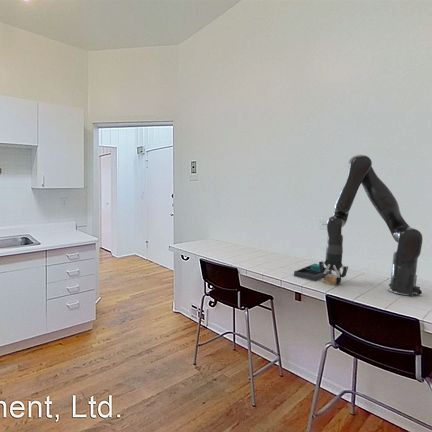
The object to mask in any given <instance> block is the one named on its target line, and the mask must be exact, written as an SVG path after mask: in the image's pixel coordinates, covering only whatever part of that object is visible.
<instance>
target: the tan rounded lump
mask: <svg viewBox="0 0 432 432" xmlns="http://www.w3.org/2000/svg"><path fill="white" fill-rule="evenodd" d="M337 277H338V276H337V274H332V273H331V274H327V275H325V280H324V279H323V280H324V281H323V282H324V284H328V285H332V286H337V285H338V284H337Z"/></svg>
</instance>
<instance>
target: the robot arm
mask: <svg viewBox="0 0 432 432" xmlns="http://www.w3.org/2000/svg"><path fill="white" fill-rule="evenodd" d="M372 165H373V162H372V159H371V158H370V156H367V155H365V154H356V155H354V156H353V155H352V157H350V159H349V160H348V163H347V166H348V169H349V170H348V175H347V178H346V181H345V183H344V186H343V187H342V189H341V191H340V192H339V194H338V197H337V199H336V202H335V204H334V212H333V215H332V216H329V218H328V219H327V220H326V221H327V222H326V231H327V241H326V242H327V243H326V248H325V260H324V261H323V260H321V261H319V262H318V264H319V266H320V272H322V273H323V274H324V277H322V278H323V280H325V275H327V273H328V272H329V270H332V272H335V275H337V276H338V277H337V285H340V284H341V283H342V278H345V277H346V276H347V273H348V270H349V266H348V265H343V253H344V248H343V246H344V245H343V243H344V235H343V233H342V231H343V229H342V228H343V227H344V226H345V225H346V223H347V221H348V218H349V213H350V211H351V209H352V206H353V203H354V201H355V199H356V196H357V193H358V191H359V188H360V187H361V185H362V188H363V190H364V192H365V194H366V196H367V197H368V199H369V202H370V203H371V204H372V206H373V208H374V209H375V210H376V212H377V213H378V215H379V216H380V218H382V220H383V221H384V223H385V224H386V226H387V228H388V231H389V232H390V234H391V236H392V238H393V240H394V241H395V242H396V243H397V247H396V251H394V252H393V255H392V265H391V273H390V274H391V275H390V283H389V284H388V287H389V291H390V292H391V293H393V294H397V295H401V296H407V297H413V296H414V295H415V294H417V295H418V296H419V295H421V294H422V293H423V291H422V290H421V287H420V286H418V285H417V279H418V275H417V269H418V260H419V257H420V255H421V253H422V247H423V234H422V232H421V231H420V230H418V229H416V228H413V227H411V226H410V225H409V224H408V222H406V220H405V219H404V217H403V215H402V214H401V210H400V205H399V203H398V200H397V199H396V197H395V195H394V194H393V192H392V190H390V188H389V187H388V186H387V185H386V184H385V183H384V182H383V180H381V179H380V178H379V176H378V175H377V174H376V172H375V170H374V168H373V166H372ZM325 266H326V267H325ZM324 267H325V268H326V269H325V270H324ZM341 269H342V271H341Z"/></svg>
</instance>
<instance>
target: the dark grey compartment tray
mask: <svg viewBox="0 0 432 432" xmlns="http://www.w3.org/2000/svg"><path fill="white" fill-rule="evenodd" d="M311 265H312V264H310V265H307V266H305V267H302V268H300V269H296V270H294V271H293V272H294V273H293V276H294V277H297V278H302V279H306V280H310V281H312V282H313V281H317V280H320V279H322V278H324V274H323V273H322V272H320V271H315V270H311V269H310V266H311ZM325 269H326V267H325V266H324V270H325ZM332 273H333V270H329V272H328V273H327V274H332Z"/></svg>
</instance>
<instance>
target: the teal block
mask: <svg viewBox="0 0 432 432" xmlns="http://www.w3.org/2000/svg"><path fill="white" fill-rule="evenodd" d="M310 265H311V266H310ZM310 265H309V266H310V269H311V270H315V271H320V266H319V263H312V264H310Z"/></svg>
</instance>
